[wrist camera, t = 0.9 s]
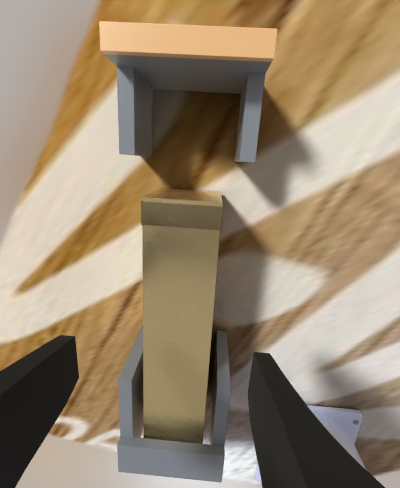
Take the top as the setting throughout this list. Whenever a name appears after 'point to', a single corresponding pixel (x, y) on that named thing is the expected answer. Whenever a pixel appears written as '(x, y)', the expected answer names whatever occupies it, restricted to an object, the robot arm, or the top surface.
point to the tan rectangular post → (178, 309)
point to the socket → (186, 73)
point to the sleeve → (172, 452)
